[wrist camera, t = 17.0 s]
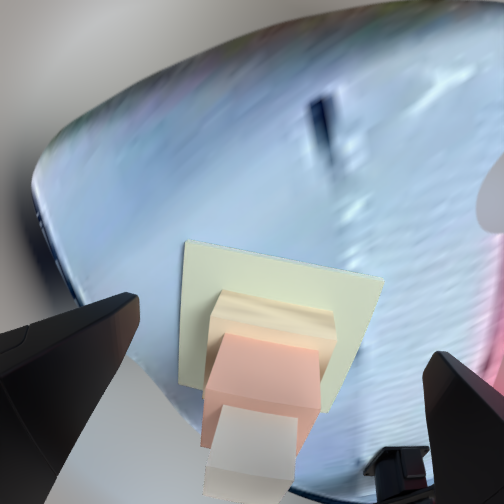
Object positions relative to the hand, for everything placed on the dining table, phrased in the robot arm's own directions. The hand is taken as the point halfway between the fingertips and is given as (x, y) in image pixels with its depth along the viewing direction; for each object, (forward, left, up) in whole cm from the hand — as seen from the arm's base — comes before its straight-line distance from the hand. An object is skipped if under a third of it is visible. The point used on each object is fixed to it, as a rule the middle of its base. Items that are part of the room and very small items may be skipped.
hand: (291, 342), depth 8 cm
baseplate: (-10, 0, -13) cm, 16 cm away
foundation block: (-10, 0, -12) cm, 16 cm away
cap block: (-10, 0, -4) cm, 11 cm away
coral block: (-10, 0, -9) cm, 13 cm away
